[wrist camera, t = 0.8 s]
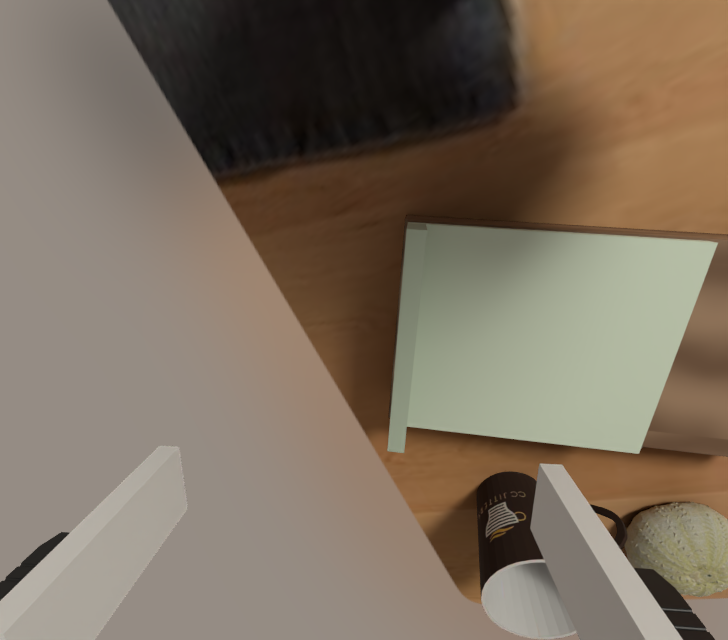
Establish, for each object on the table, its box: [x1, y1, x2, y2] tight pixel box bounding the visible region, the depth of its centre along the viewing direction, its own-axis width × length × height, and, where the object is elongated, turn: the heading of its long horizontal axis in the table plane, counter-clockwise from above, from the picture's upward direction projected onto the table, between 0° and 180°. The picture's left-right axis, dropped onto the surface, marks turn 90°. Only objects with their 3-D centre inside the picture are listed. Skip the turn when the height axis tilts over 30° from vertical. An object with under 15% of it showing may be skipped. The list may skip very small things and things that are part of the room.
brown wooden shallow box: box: [389, 215, 728, 457], centre depth 29 cm, size 16×30×4 cm, turn 87°
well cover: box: [388, 222, 718, 454], centre depth 26 cm, size 16×19×4 cm
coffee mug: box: [477, 472, 628, 639], centre depth 33 cm, size 12×9×10 cm
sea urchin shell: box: [624, 502, 728, 597], centre depth 35 cm, size 9×8×8 cm
